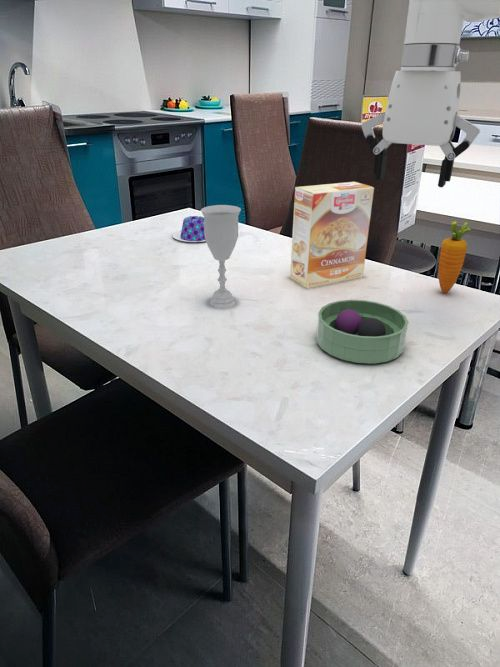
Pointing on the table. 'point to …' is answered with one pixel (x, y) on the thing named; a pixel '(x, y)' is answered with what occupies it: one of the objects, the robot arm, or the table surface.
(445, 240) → the carrot
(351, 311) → the plum ball
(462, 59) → the robot arm
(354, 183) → the coffeecake box
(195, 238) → the pudding
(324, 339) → the bowl
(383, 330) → the charcoal ball
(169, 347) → the table surface
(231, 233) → the chalice
